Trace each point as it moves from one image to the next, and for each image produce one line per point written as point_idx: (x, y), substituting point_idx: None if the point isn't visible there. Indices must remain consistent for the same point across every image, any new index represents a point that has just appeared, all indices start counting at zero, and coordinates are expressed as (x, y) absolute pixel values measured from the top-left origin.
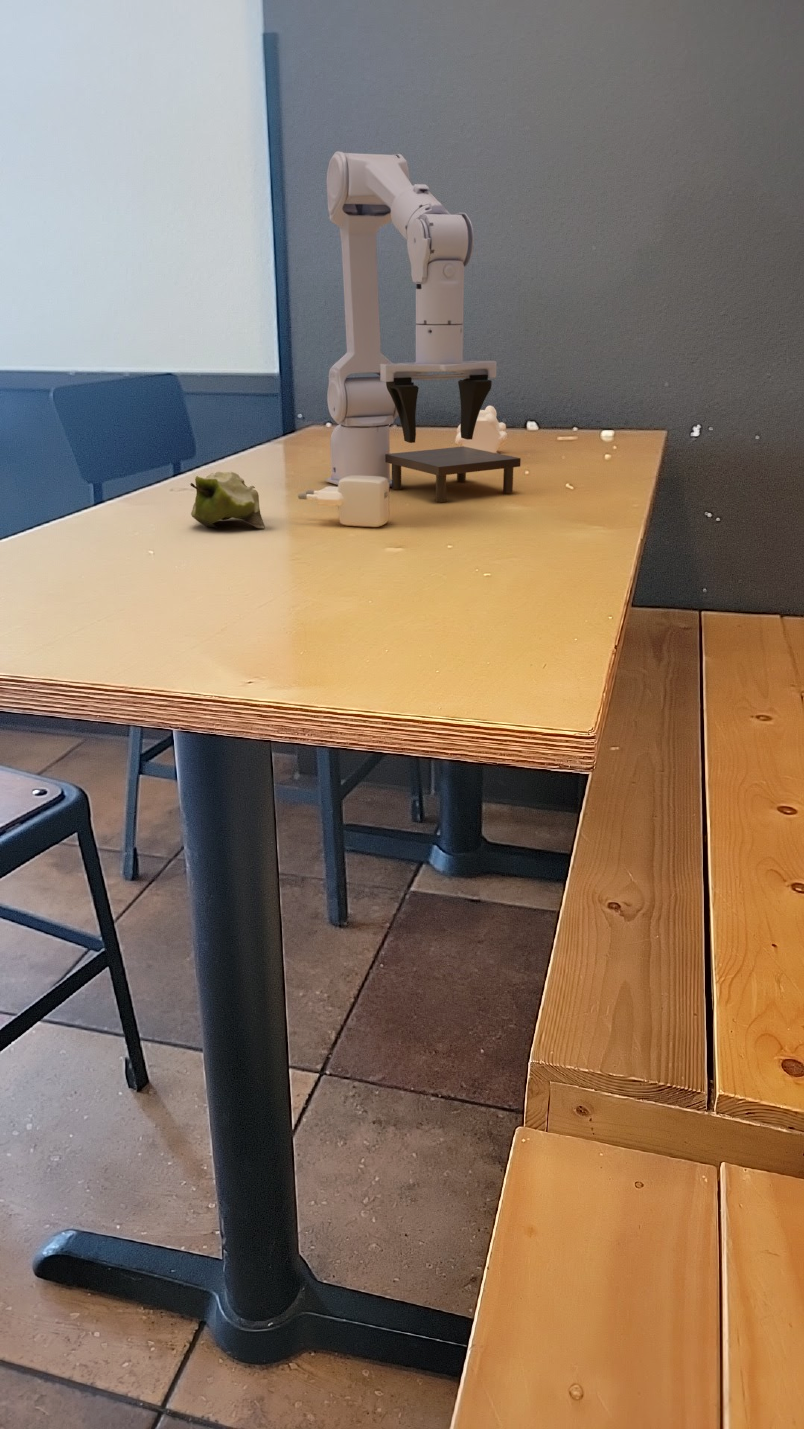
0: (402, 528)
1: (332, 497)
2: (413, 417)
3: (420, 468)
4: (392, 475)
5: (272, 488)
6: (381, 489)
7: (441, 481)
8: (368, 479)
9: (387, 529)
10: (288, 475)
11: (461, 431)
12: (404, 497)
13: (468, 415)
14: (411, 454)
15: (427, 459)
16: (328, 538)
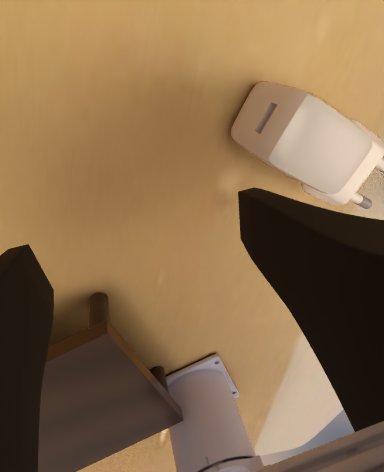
0: (212, 74)
1: (364, 128)
2: (300, 214)
3: (137, 359)
4: (167, 386)
5: (303, 361)
6: (293, 93)
7: (99, 319)
8: (327, 120)
9: (243, 71)
10: (264, 415)
11: (49, 302)
12: (155, 326)
13: (2, 318)
14: (142, 424)
15: (120, 393)
16: (371, 5)
